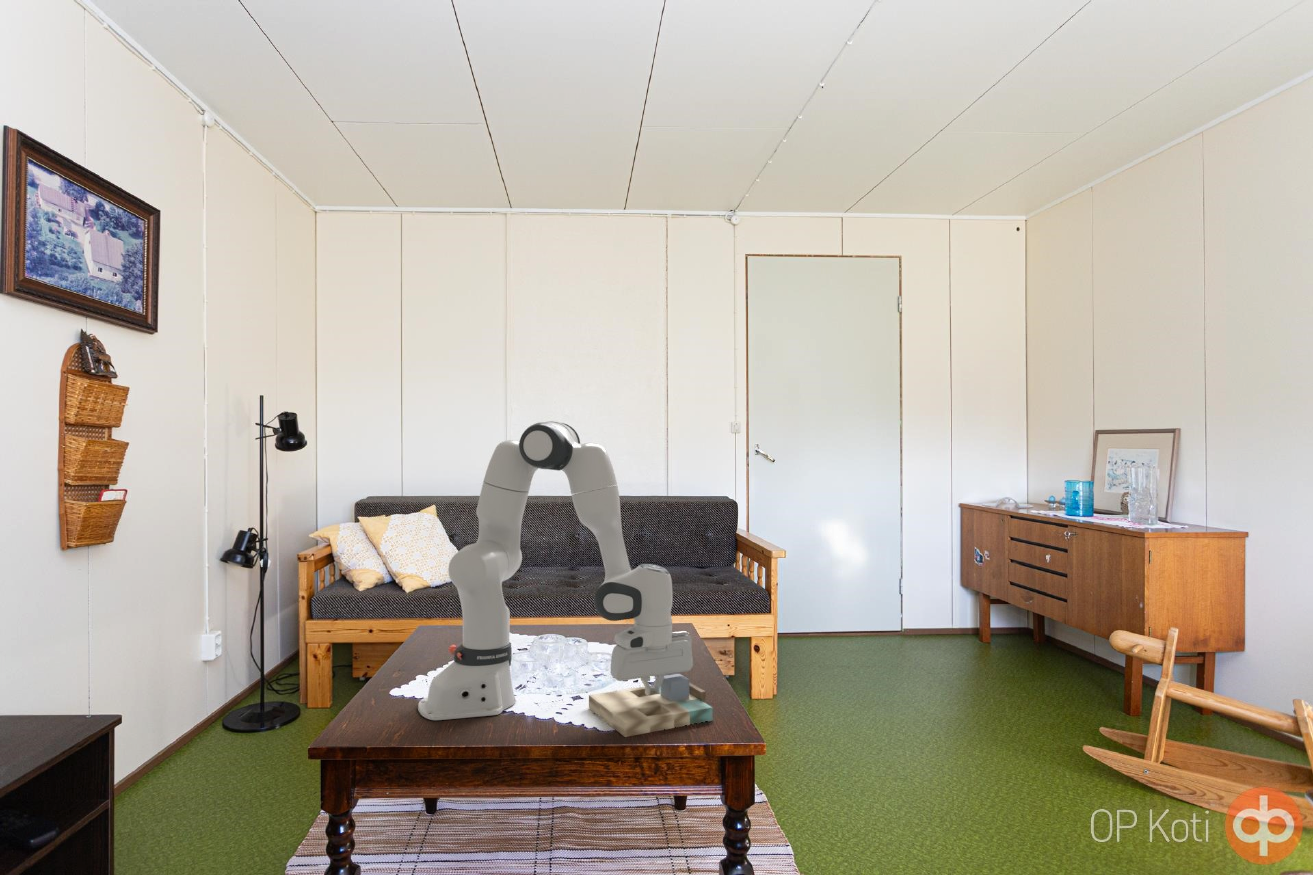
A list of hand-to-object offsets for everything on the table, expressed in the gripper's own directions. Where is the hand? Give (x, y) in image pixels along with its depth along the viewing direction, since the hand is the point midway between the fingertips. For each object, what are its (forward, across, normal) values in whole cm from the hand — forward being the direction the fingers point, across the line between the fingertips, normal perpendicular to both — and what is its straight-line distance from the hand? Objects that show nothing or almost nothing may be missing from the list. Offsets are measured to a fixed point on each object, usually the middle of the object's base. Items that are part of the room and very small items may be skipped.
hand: (652, 694), depth 176 cm
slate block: (+1, -6, 0) cm, 6 cm away
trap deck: (+4, +1, 0) cm, 4 cm away
